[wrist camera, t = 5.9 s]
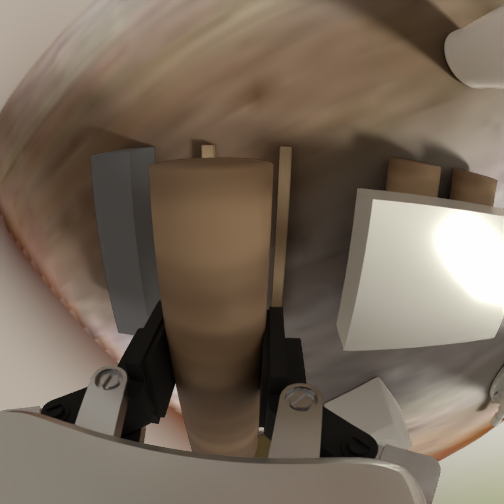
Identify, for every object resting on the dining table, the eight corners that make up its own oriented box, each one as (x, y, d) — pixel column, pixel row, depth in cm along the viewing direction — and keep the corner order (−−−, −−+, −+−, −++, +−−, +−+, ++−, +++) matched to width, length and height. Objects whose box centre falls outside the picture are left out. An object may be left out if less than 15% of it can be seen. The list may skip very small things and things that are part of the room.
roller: (257, 420, 16) (256, 472, 12) (196, 416, 16) (186, 466, 12) (271, 158, 10) (276, 172, 7) (169, 158, 10) (128, 173, 7)
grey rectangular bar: (167, 307, 26) (151, 337, 22) (137, 304, 27) (118, 332, 22) (154, 146, 21) (129, 151, 17) (120, 149, 21) (90, 155, 17)
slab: (478, 318, 21) (494, 337, 18) (335, 324, 21) (343, 351, 19) (510, 210, 17) (534, 222, 14) (357, 188, 17) (372, 199, 15)
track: (444, 312, 25) (462, 336, 22) (209, 310, 26) (200, 338, 23) (478, 173, 20) (506, 183, 16) (204, 144, 21) (191, 147, 17)
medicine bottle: (322, 403, 31) (334, 494, 20) (378, 374, 29) (407, 465, 18) (348, 426, 33) (362, 505, 22) (398, 402, 31) (424, 480, 20)
